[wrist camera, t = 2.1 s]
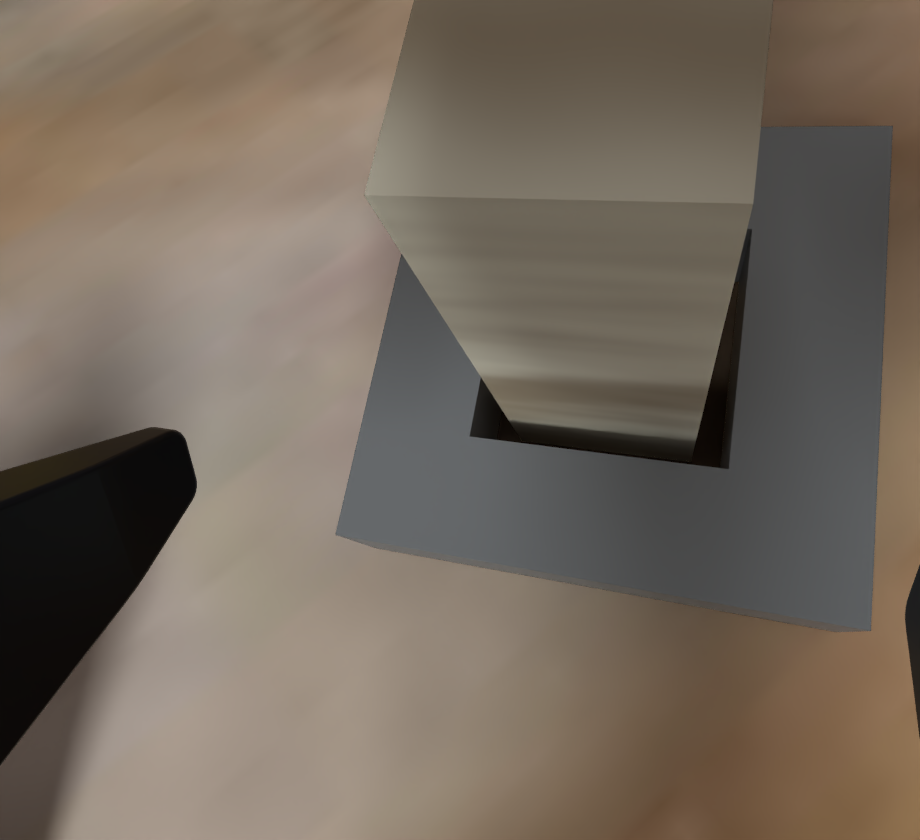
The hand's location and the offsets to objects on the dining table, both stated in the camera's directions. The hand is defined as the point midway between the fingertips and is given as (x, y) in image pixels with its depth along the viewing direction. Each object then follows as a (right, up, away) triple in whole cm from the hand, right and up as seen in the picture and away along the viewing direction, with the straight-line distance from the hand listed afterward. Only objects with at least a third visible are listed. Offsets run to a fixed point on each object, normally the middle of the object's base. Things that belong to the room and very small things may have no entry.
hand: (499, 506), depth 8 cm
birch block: (+4, +2, +13) cm, 14 cm away
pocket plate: (+4, +2, +13) cm, 14 cm away
